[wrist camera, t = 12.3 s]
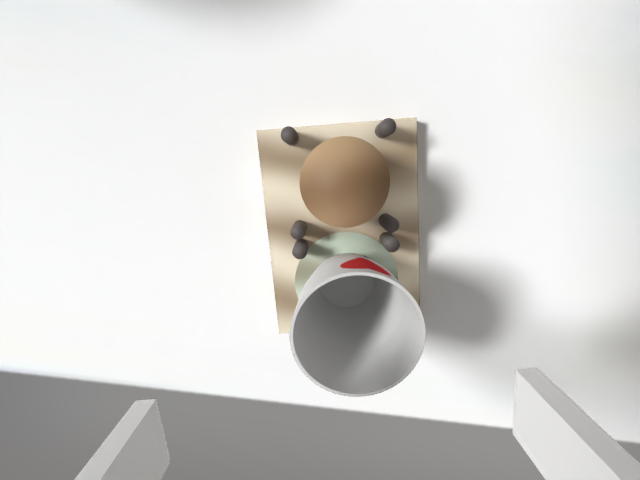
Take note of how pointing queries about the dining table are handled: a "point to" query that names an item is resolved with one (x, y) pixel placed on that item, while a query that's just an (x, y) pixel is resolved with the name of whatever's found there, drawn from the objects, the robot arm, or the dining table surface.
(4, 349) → the dining table surface
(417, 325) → the cup
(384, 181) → the wooden round post
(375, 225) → the pin board
